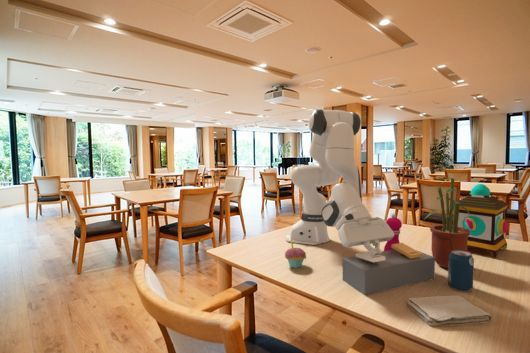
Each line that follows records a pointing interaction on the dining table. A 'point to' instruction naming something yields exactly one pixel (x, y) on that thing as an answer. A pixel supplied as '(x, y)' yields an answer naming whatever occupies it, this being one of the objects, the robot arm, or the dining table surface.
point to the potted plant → (448, 229)
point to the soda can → (460, 270)
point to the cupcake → (295, 256)
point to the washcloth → (447, 311)
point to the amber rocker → (406, 250)
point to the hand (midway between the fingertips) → (377, 254)
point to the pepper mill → (395, 226)
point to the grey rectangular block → (387, 271)
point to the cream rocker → (370, 257)
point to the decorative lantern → (484, 220)
